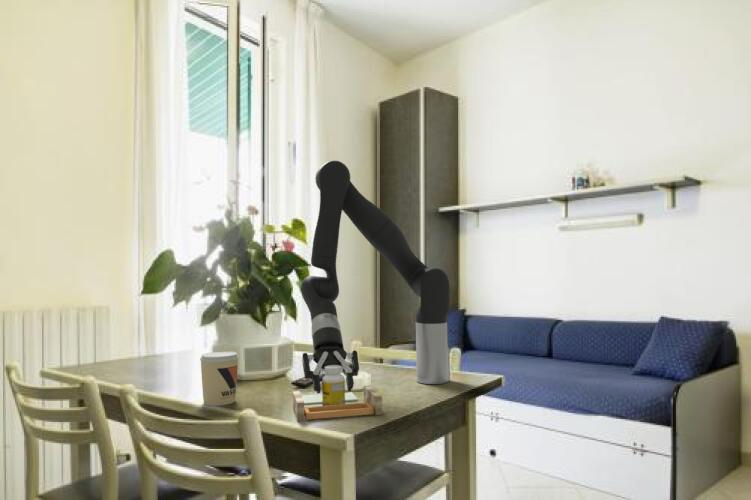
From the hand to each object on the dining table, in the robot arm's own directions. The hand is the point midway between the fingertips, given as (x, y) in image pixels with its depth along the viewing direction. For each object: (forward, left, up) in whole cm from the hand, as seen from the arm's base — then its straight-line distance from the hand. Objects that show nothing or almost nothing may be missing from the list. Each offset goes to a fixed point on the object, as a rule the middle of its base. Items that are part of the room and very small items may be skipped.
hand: (334, 390), depth 122 cm
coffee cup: (+15, -27, -5) cm, 32 cm away
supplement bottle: (-1, -1, -5) cm, 5 cm away
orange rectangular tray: (+3, +4, -4) cm, 7 cm away
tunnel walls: (+1, +1, -4) cm, 5 cm away
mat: (-5, -9, -4) cm, 11 cm away
